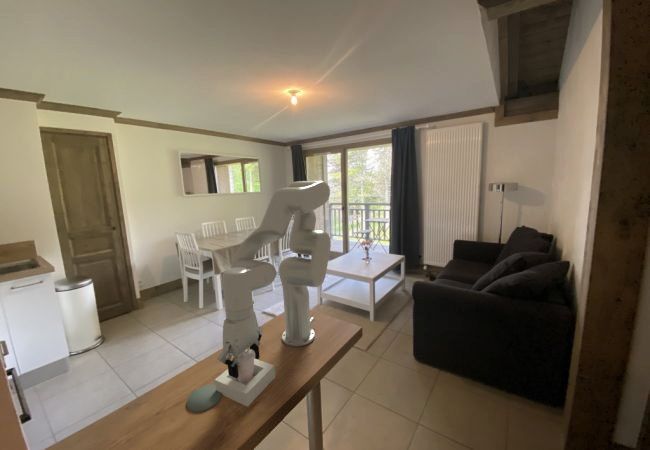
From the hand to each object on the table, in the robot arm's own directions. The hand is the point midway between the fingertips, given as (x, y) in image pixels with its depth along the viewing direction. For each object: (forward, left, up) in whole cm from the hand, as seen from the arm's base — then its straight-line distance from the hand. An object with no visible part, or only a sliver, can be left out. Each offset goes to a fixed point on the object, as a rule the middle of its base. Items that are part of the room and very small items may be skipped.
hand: (244, 366), depth 79 cm
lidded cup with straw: (0, 0, -6) cm, 6 cm away
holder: (0, 0, -6) cm, 6 cm away
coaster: (+9, -7, -6) cm, 13 cm away
